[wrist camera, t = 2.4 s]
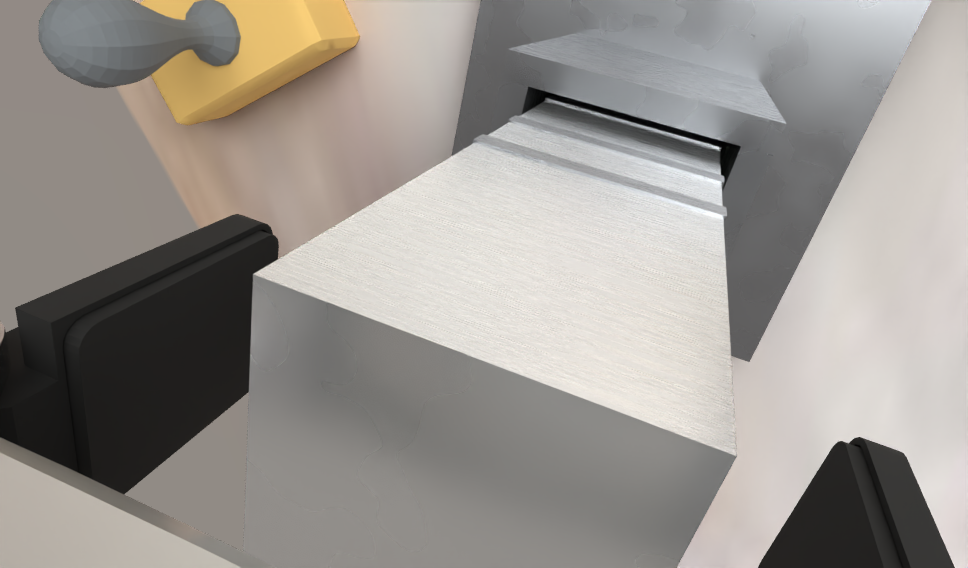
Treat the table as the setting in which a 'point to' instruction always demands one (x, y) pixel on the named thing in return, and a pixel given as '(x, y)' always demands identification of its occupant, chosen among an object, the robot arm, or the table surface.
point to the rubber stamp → (195, 47)
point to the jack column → (501, 359)
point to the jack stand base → (711, 102)
